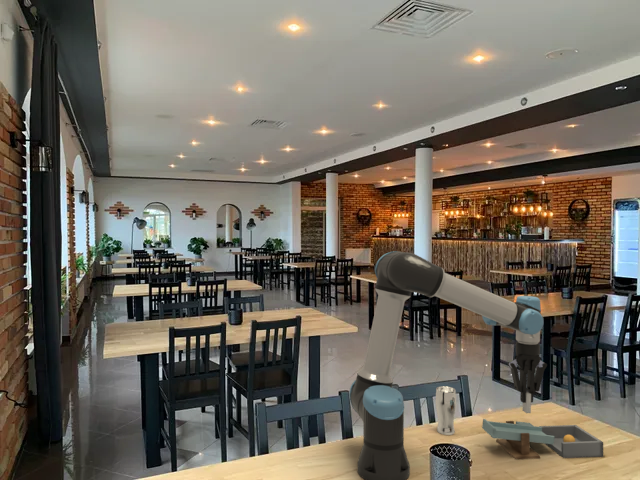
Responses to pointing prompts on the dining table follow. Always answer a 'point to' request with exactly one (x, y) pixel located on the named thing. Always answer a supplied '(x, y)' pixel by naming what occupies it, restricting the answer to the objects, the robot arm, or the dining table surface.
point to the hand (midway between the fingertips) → (526, 411)
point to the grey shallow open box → (580, 448)
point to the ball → (568, 438)
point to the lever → (516, 431)
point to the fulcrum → (518, 447)
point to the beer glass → (445, 409)
